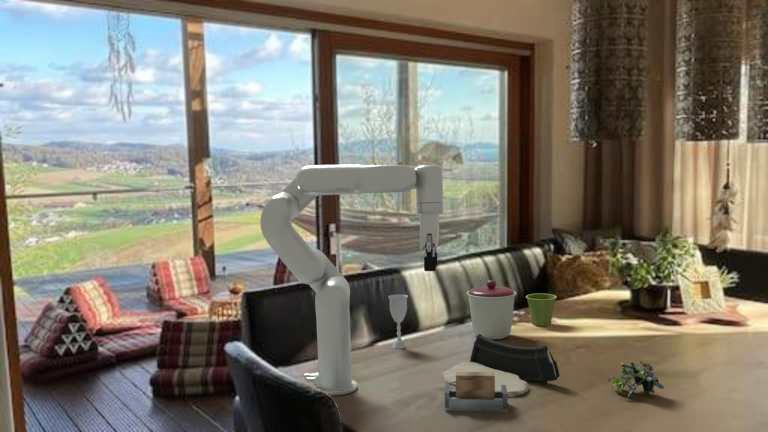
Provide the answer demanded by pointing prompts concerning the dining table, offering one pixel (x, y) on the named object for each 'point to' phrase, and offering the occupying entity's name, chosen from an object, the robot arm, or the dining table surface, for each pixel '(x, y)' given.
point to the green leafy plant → (636, 378)
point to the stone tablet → (501, 378)
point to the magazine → (516, 359)
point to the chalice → (398, 315)
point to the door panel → (475, 384)
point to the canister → (491, 310)
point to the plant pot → (541, 308)
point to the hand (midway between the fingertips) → (430, 268)
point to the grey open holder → (476, 402)
